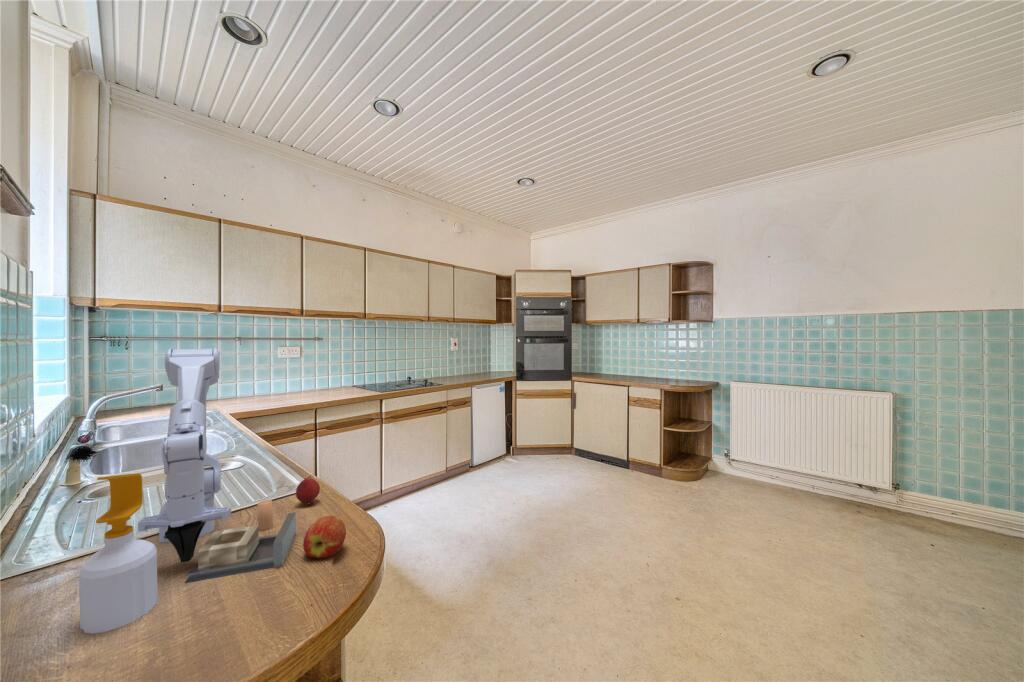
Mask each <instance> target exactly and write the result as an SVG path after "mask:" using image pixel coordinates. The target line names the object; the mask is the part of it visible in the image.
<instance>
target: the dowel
mask: <svg viewBox="0 0 1024 682" xmlns="http://www.w3.org/2000/svg"><path fill="white" fill-rule="evenodd" d="M273 510H274V509H273V500H272V499H264V500H262V501H259V502H258V503H257V525H259V532H261V531H269V530H271V529H272V528H273V527H274V518H273V516H274V515H273V514H274V511H273Z"/></svg>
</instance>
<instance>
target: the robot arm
mask: <svg viewBox="0 0 1024 682" xmlns="http://www.w3.org/2000/svg"><path fill="white" fill-rule="evenodd" d="M220 356H221V355H220V350H219V349H218V348H217V347H214V348H181V349H180V348H178V349H177V348H176V349H175V348H174V349H173V348H168V349H167V350H166V351H165V353H164V368H165V372H166V376H167V380H168V381H169V384H170V386H173V387H177V391H178V393H177V395H178V401H177V402H176V403H174V404H173V405H172V407H170V412H169V418H168V427H167V435H166V437H163V439H162V442H161V459H162V463H163V470H164V471H163V472H164V475H165V479H164V480H165V481H164V498H165V500H166V502H164V503H163V504H162V506H161V508H160V512H159V514H157V515H156V514H155V515H152V516H146V517H145V516H144V517H143V518H141V519H140V520H139V521H137V532H138V533H139V532H145V531H147V530H150V529H158V535H159V536H158V537H159V538H158V539H159V540H158V541H159V543H160V544H161V543H166V542H170V543H171V544H172V546H173V547H174V549H175V551H176V553H177V555H178V557H179V560H180V563H187V562H190V561H191V560H192V559H193V557H194V556H195V550H196V546H197V543H198V540H199V538H201V537H203V536H205V535H208V534H209V533H211V532H212V531H214V530H215V528H216V527H215V526H216V524H215V523H216V522H215V521H219V520H221V521H228V520H229V519H230V518H231V516H232V507H231V506H226V507H225V506H224V507H222V506H221V507H219V506H218V507H217V506H216V507H215V494H217V493H219V491H221V488H222V473H221V472H222V469H221V462H220V460H219V459H218V458H217V457H215V456H213V455H211V454H208V453H207V451H208V450H207V448H208V446H207V445H208V443H207V442H208V441H207V395H208V392H209V389H210V386H212V385H215V384H217V383H219V379H220V370H221V367H220V364H221V362H220V361H221V360H220V359H221V358H220Z"/></svg>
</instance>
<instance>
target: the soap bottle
mask: <svg viewBox="0 0 1024 682" xmlns="http://www.w3.org/2000/svg"><path fill="white" fill-rule="evenodd" d="M102 480H103V481H104V480H105V481H106V480H107V481H109V488H110V489H109V491H110V498H109V499H110V507H109V509H108V510H107V511H106V512H105V513H104V514H102V515H100V516H99V517H98V518H97V519H95V522H96V524H105V523H106V525H107V526H111V529H108V530H107V531H106V532H105V533H104V547H102V548H101V549H100V550H98V551H96V552H95V553H94V554H92V555H91V556H90V557H89V558H88V559H87V560H86V561H84V562H83V564H82V565H81V568H80V569H79V573H78V589H79V590H78V592H79V593H78V595H79V598H78V599H79V601H78V602H79V628H80V630H82V631H83V633H84V634H93V635H94V634H100V633H106V632H107V633H108V632H109V631H113V630H117V629H119V628H122V627H124V626H126V625H129V624H131V623H133V622H135V621H136V620H138V619H139V618H141V617H143V616H145V615H146V614H148V613H149V612H151V610H153V609H154V607H155V605H156V603H158V601H159V599H158V597H159V595H158V554H157V552H158V551H157V549H158V548H157V547H156V546H155V544H154V543H152V542H150V541H148V540H146V539H145V540H144V539H137V538H134V526H133V525H131V524H130V525H129V524H128V525H127V522H128V521H129V520H130V519H131V517H132V516H133V515H135V513H137V512H138V511H139V510H140V509H141V507H142V505H143V501H144V500H143V498H144V497H143V475H142V474H141V473H138V472H137V473H130V474H129V473H127V474H119V475H118V474H117V475H109V476H100V477H97V478H96V481H102Z"/></svg>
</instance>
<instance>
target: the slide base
mask: <svg viewBox="0 0 1024 682" xmlns="http://www.w3.org/2000/svg"><path fill="white" fill-rule="evenodd" d="M296 535H297V513H296V512H289V513H287V515H286V518H285V519H284V521H283V523H282V525H281V527H280V528H279V531H278V533H277V534H272V535H265V536H259V544H258V545H257V547H256V549H255V551H254V552H253V554H252V556H251V558H250V559H249V561H248V562H242V563H236V564H230V565H224V566H218V567H212V568H206V569H200V570H198V566H196V568H195V569H194V570H189V571H188V573H187V579H186V581H185V582H184V584H188V583H189V584H190V583H195V582H200V581H206V580H213V579H218V578H223V577H228V576H235V575H241V574H245V573H252V572H257V571H264V570H269V569H276V568H280V567H284V564H285V561H286V559H287V557H288V554H289V552H290V549H291V547H292V545H293V541H294V539H295V538H296Z"/></svg>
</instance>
